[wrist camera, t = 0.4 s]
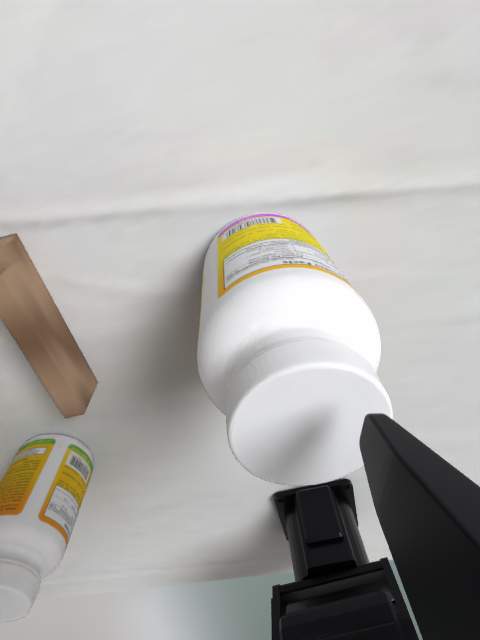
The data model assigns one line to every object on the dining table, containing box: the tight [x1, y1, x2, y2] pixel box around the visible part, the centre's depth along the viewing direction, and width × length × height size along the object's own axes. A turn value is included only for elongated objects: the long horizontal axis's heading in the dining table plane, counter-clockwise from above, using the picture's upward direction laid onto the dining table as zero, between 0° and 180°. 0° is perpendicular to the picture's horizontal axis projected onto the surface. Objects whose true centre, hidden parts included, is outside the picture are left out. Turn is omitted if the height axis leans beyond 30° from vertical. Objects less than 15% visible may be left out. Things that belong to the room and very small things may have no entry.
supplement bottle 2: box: [197, 212, 393, 486], centre depth 16 cm, size 7×7×13 cm
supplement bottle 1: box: [0, 434, 94, 622], centre depth 24 cm, size 5×5×10 cm
